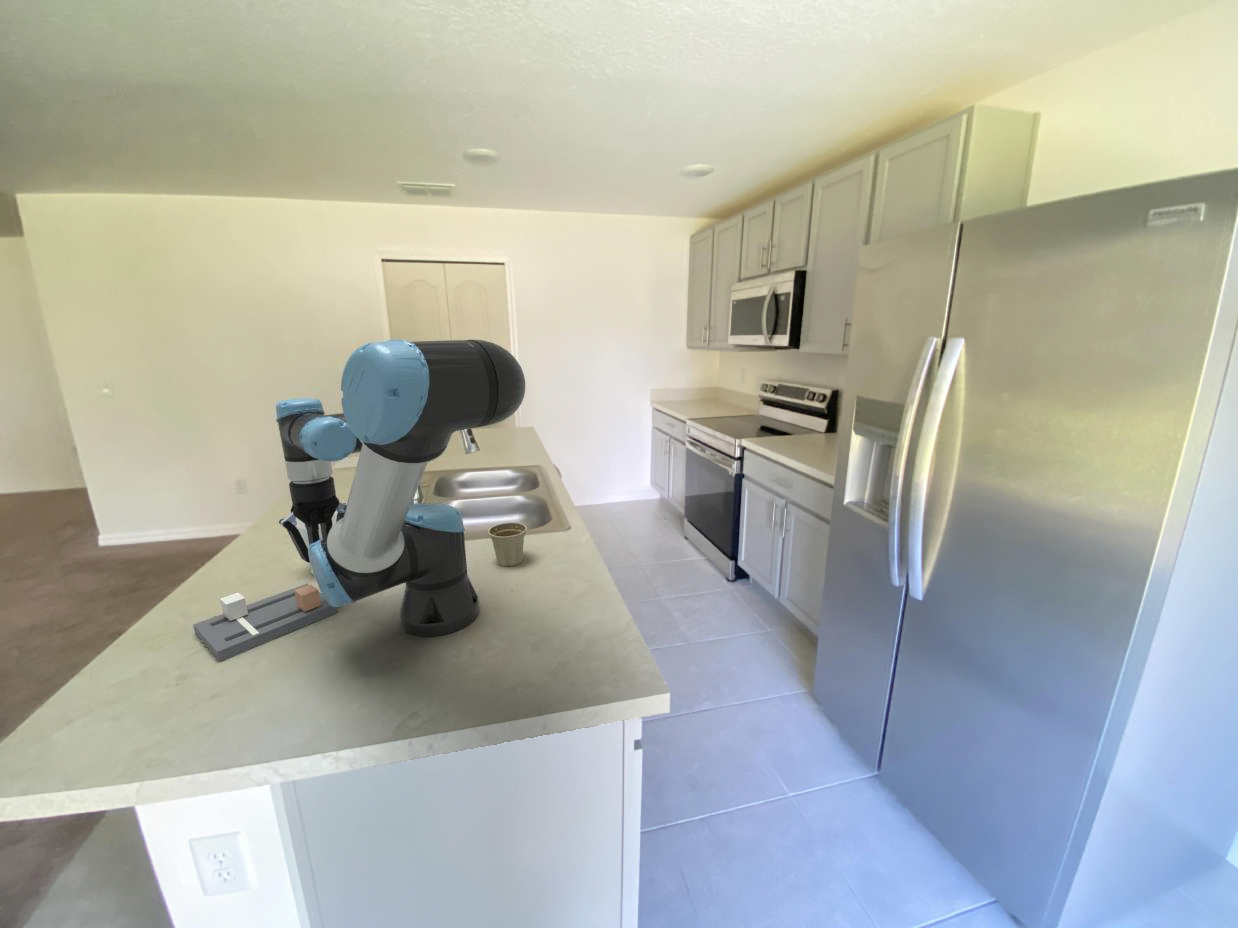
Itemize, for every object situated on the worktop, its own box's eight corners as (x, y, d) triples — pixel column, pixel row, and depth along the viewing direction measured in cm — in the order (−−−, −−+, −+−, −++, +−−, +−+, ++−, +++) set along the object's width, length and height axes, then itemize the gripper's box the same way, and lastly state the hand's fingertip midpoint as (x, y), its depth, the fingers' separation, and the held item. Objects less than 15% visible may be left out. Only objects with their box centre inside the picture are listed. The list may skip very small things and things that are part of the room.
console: (338, 612, 103) (336, 602, 102) (219, 661, 87) (217, 651, 87) (308, 591, 111) (307, 582, 110) (195, 633, 95) (192, 623, 95)
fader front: (320, 605, 101) (318, 589, 100) (304, 611, 98) (301, 595, 98) (313, 599, 103) (310, 584, 102) (297, 605, 101) (294, 590, 100)
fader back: (248, 614, 98) (244, 598, 97) (229, 620, 95) (226, 604, 94) (241, 608, 100) (238, 592, 99) (223, 614, 97) (219, 598, 97)
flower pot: (483, 567, 122) (480, 534, 120) (500, 551, 131) (498, 520, 129) (518, 571, 120) (516, 538, 118) (534, 555, 129) (532, 523, 126)
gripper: (337, 468, 105) (352, 570, 111) (265, 482, 95) (286, 594, 101) (354, 474, 100) (369, 580, 106) (280, 490, 90) (302, 606, 96)
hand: (329, 587), depth 103 cm, fingers closed
